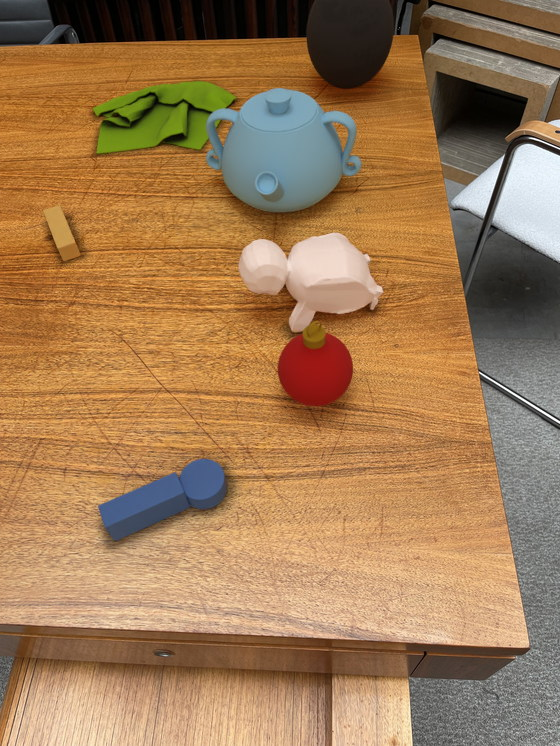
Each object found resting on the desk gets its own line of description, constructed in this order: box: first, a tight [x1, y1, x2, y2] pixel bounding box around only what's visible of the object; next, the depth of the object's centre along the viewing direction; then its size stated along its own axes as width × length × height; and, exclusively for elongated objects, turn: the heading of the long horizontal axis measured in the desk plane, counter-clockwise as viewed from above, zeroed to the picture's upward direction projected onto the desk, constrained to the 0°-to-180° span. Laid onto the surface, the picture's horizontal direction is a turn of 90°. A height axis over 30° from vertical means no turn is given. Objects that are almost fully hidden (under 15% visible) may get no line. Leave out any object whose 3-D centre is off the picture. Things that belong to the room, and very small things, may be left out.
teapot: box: [205, 87, 362, 213], centre depth 76 cm, size 20×20×13 cm
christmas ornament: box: [277, 320, 354, 407], centre depth 59 cm, size 7×7×10 cm
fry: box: [42, 204, 82, 262], centre depth 78 cm, size 8×2×2 cm, turn 25°
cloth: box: [92, 80, 237, 155], centre depth 93 cm, size 20×22×2 cm
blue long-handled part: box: [97, 458, 228, 542], centre depth 55 cm, size 11×4×3 cm, turn 115°
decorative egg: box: [305, 0, 395, 90], centre depth 91 cm, size 12×12×15 cm
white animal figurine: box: [237, 232, 384, 333], centre depth 67 cm, size 9×8×15 cm
